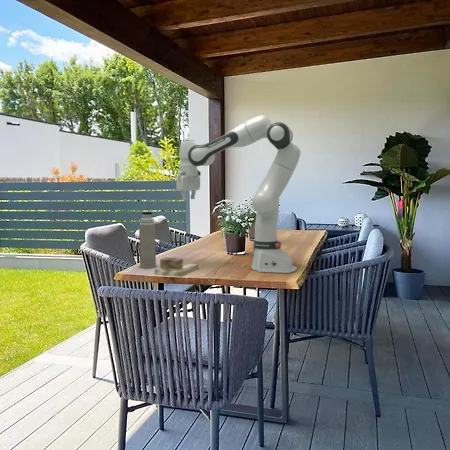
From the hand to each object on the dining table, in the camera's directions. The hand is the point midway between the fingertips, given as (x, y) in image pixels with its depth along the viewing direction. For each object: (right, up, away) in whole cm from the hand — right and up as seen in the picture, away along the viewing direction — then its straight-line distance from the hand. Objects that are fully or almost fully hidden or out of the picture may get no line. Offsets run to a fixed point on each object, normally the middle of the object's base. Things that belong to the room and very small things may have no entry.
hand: (188, 199), depth 232 cm
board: (-4, -36, -13) cm, 38 cm away
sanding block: (-7, -34, -18) cm, 39 cm away
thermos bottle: (-21, -35, -2) cm, 40 cm away
